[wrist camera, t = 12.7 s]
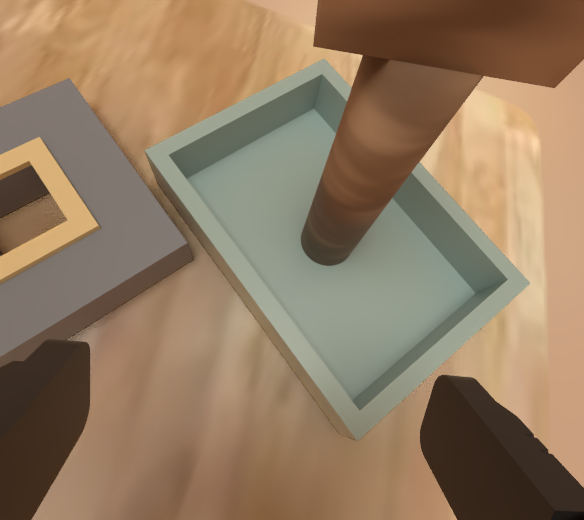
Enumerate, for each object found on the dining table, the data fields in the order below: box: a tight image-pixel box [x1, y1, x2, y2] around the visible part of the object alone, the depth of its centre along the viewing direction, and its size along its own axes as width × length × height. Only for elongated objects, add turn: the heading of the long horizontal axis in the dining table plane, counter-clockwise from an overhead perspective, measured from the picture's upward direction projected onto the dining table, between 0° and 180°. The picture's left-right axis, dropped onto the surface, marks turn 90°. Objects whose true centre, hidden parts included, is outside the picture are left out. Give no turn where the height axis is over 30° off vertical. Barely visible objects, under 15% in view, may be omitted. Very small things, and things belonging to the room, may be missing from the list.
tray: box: [144, 58, 530, 441], centre depth 25 cm, size 20×14×4 cm
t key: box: [301, 0, 584, 266], centre depth 18 cm, size 7×4×18 cm, turn 84°
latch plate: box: [0, 78, 194, 367], centre depth 23 cm, size 14×14×3 cm
